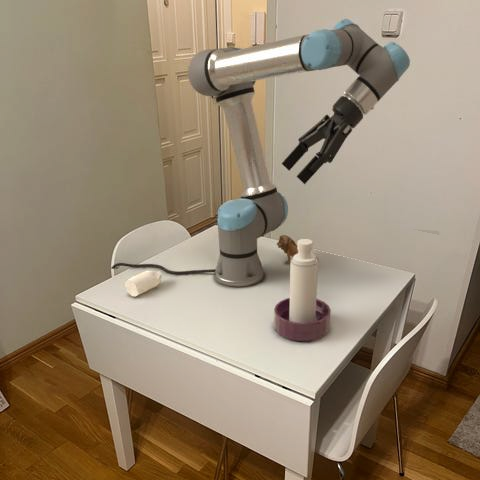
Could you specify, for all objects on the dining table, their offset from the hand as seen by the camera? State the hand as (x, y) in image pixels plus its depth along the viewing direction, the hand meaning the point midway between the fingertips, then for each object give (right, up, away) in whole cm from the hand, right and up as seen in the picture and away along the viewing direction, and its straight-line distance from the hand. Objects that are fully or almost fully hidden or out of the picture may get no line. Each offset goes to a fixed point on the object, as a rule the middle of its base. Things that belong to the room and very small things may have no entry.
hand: (292, 173), depth 124 cm
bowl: (+3, -39, +4) cm, 39 cm away
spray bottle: (+3, -39, +4) cm, 39 cm away
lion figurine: (+5, -19, +38) cm, 43 cm away
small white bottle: (-42, -28, +26) cm, 57 cm away
